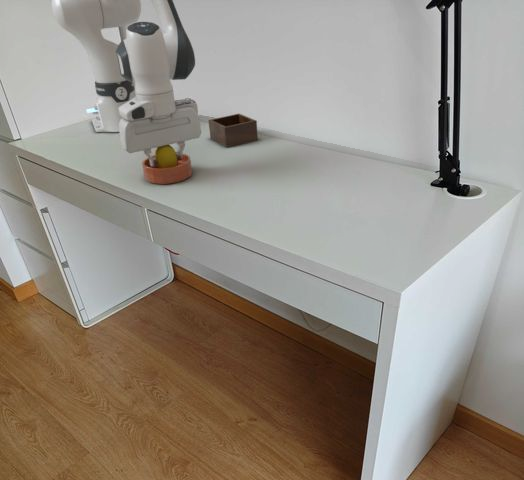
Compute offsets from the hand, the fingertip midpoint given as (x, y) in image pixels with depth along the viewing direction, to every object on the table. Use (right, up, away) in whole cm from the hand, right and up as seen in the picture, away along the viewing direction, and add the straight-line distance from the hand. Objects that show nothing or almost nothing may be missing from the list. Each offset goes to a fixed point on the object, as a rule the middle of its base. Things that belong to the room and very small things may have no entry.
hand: (166, 162), depth 127 cm
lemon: (0, -3, +2) cm, 3 cm away
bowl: (0, -3, +2) cm, 4 cm away
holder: (+16, +16, +23) cm, 32 cm away
